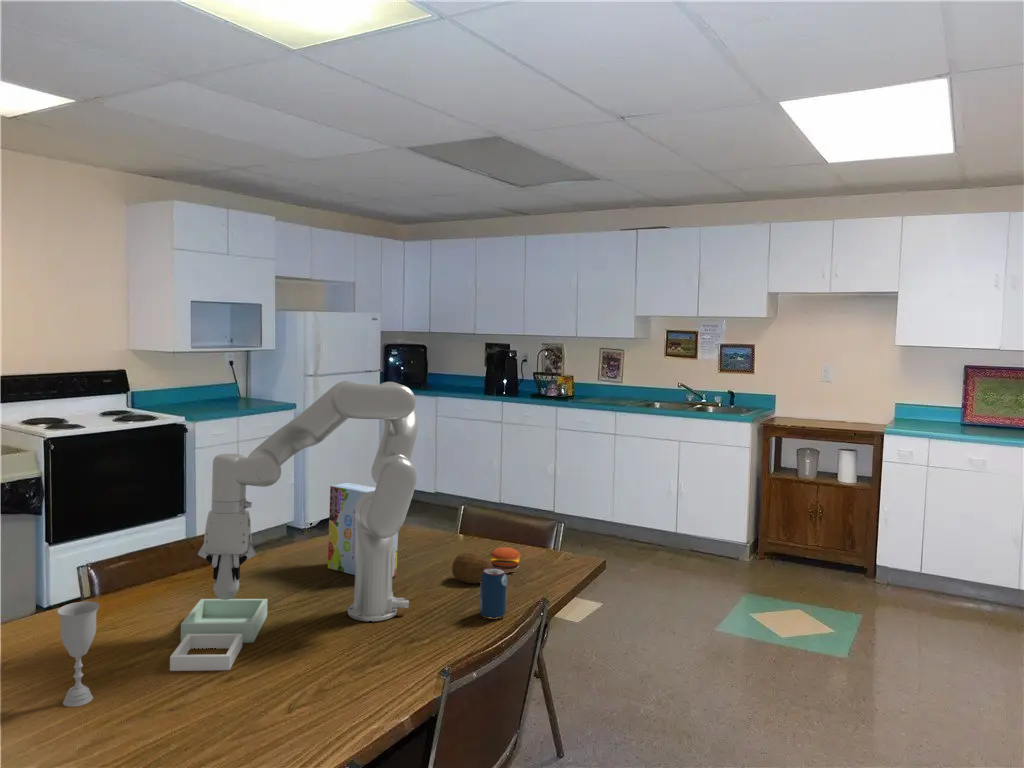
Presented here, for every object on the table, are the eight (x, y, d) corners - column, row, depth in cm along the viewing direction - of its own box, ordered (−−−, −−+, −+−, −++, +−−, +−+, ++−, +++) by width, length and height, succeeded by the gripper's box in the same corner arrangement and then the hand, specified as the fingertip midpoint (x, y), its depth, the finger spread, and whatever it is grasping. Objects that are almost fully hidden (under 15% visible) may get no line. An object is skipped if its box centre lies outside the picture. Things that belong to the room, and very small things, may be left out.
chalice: (69, 690, 146) (69, 601, 145) (105, 691, 147) (106, 601, 146) (49, 709, 139) (49, 615, 138) (87, 709, 140) (88, 615, 139)
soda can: (511, 616, 196) (513, 571, 195) (492, 622, 191) (494, 576, 190) (492, 608, 200) (494, 564, 200) (473, 614, 195) (475, 569, 195)
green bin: (267, 616, 188) (267, 598, 188) (253, 642, 172) (253, 623, 172) (200, 616, 186) (201, 598, 186) (180, 643, 170) (180, 624, 170)
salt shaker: (230, 602, 175) (231, 548, 174) (208, 599, 176) (209, 545, 175) (243, 594, 181) (245, 541, 180) (222, 591, 182) (223, 539, 181)
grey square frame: (242, 646, 170) (242, 633, 170) (229, 670, 158) (229, 656, 158) (187, 646, 169) (187, 633, 168) (169, 670, 157) (170, 656, 156)
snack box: (398, 576, 223) (402, 491, 222) (378, 583, 216) (381, 495, 214) (346, 561, 235) (348, 480, 233) (325, 568, 228) (328, 484, 226)
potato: (481, 590, 214) (482, 560, 214) (445, 583, 219) (446, 553, 219) (494, 582, 222) (495, 553, 222) (459, 575, 227) (460, 546, 226)
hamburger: (490, 563, 240) (491, 543, 239) (520, 565, 240) (521, 545, 239) (488, 573, 230) (489, 551, 230) (519, 574, 230) (521, 553, 230)
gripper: (267, 503, 182) (265, 577, 183) (197, 502, 180) (195, 576, 181) (261, 510, 175) (258, 588, 176) (187, 509, 172) (185, 587, 174)
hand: (226, 581), depth 178 cm, fingers closed on salt shaker, 3 cm apart
